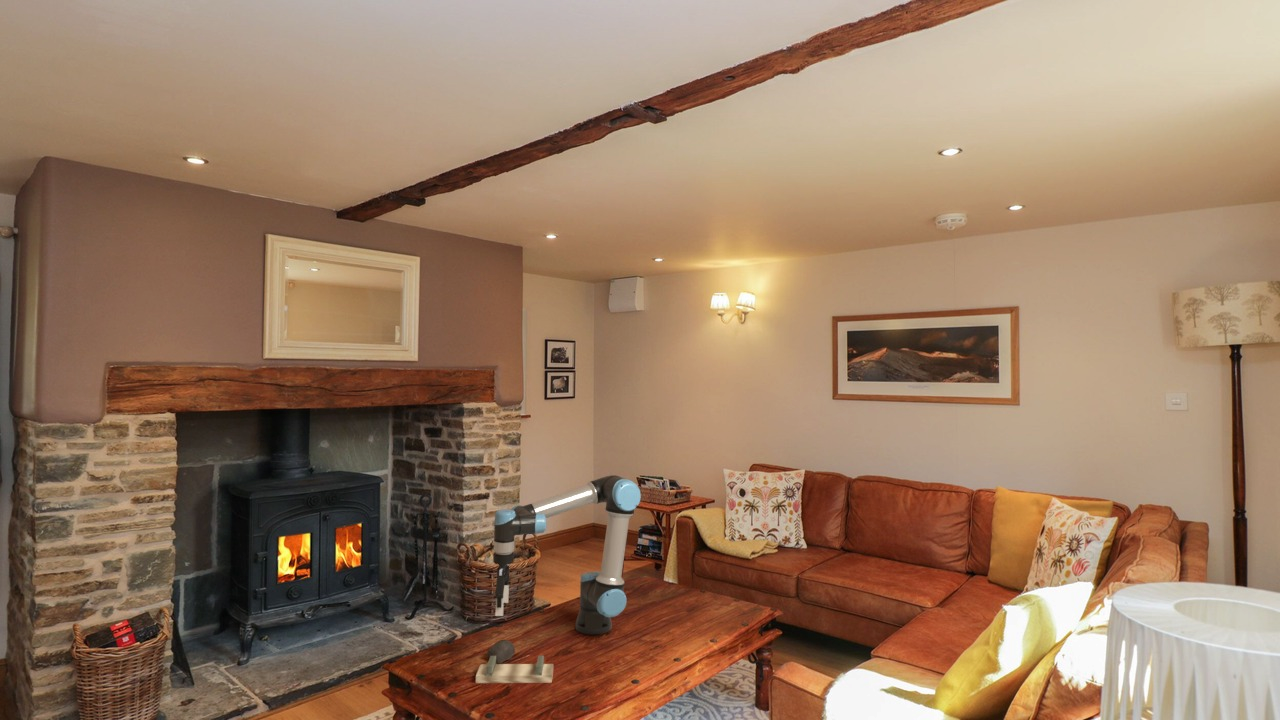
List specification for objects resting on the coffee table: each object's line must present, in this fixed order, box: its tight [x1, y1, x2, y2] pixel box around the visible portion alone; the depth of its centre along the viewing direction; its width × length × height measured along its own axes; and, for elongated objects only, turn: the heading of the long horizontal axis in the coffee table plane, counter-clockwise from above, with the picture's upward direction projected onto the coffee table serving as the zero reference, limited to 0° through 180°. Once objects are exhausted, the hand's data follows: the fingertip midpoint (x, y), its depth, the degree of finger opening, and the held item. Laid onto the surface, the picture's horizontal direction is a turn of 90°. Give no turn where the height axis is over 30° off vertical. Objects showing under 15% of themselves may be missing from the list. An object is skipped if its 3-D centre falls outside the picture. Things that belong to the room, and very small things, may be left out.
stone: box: [486, 639, 516, 664], centre depth 254 cm, size 10×8×10 cm
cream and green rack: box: [475, 655, 555, 684], centre depth 240 cm, size 26×9×6 cm, turn 93°
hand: (501, 608), depth 254 cm, fingers open, 13 cm apart
